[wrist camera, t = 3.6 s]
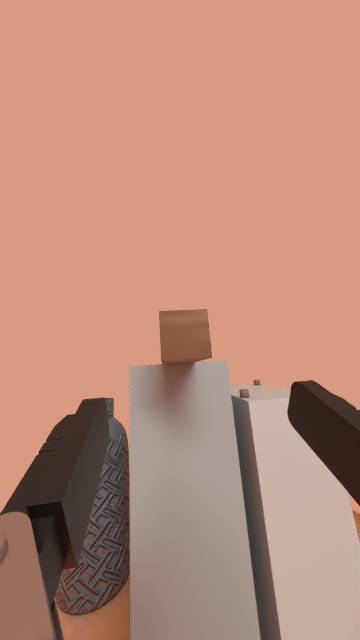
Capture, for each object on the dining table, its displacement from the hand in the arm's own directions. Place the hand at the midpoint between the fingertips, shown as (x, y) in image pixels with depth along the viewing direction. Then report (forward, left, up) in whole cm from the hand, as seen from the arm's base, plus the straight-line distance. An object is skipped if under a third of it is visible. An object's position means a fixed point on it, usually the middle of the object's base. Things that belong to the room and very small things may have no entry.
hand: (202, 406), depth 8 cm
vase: (-27, -28, -32) cm, 50 cm away
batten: (-19, -8, +2) cm, 21 cm away
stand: (-26, -5, -32) cm, 41 cm away
